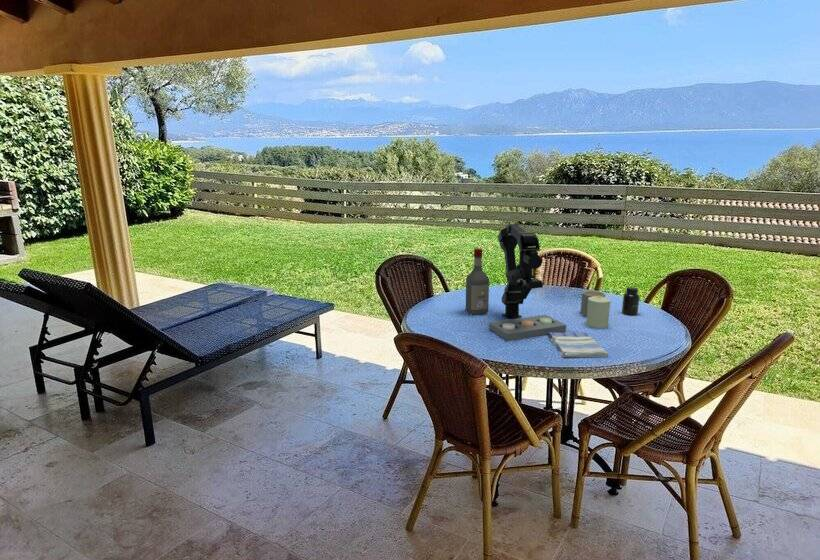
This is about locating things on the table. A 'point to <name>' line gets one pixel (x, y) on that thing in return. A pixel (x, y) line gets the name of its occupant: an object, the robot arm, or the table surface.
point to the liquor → (477, 287)
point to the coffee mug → (585, 299)
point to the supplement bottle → (630, 301)
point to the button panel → (526, 328)
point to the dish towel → (576, 345)
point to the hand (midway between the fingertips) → (524, 298)
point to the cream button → (508, 326)
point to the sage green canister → (598, 312)
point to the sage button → (545, 320)
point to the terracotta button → (527, 323)
